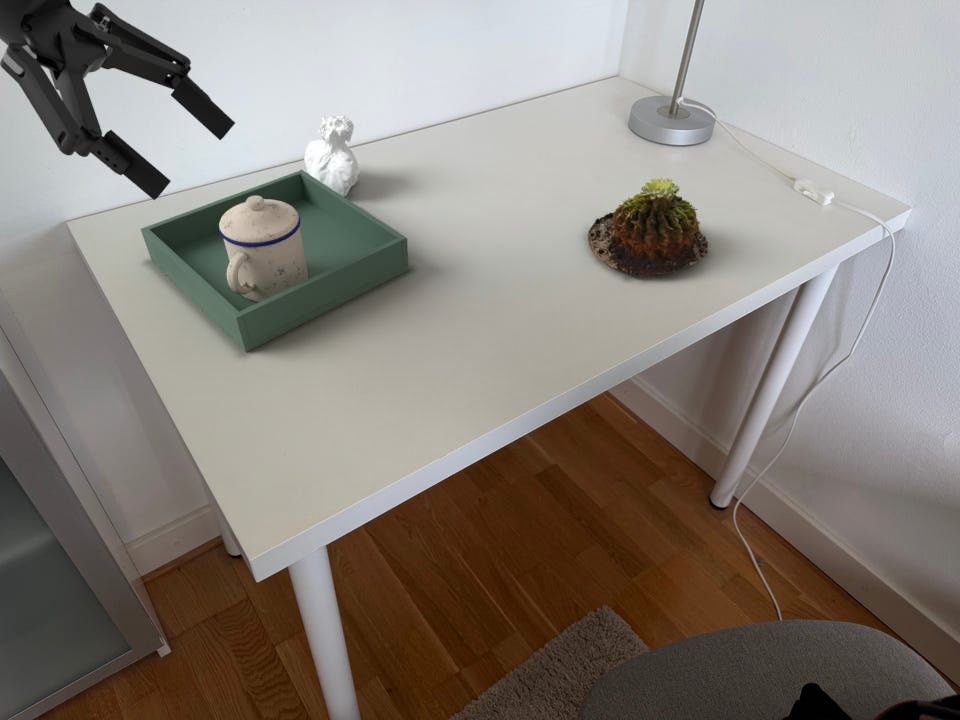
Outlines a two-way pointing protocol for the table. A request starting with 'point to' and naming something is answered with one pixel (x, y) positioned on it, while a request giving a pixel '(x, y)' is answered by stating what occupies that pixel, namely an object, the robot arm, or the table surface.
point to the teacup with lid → (263, 248)
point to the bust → (333, 155)
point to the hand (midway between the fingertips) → (197, 159)
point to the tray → (327, 248)
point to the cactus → (650, 232)
